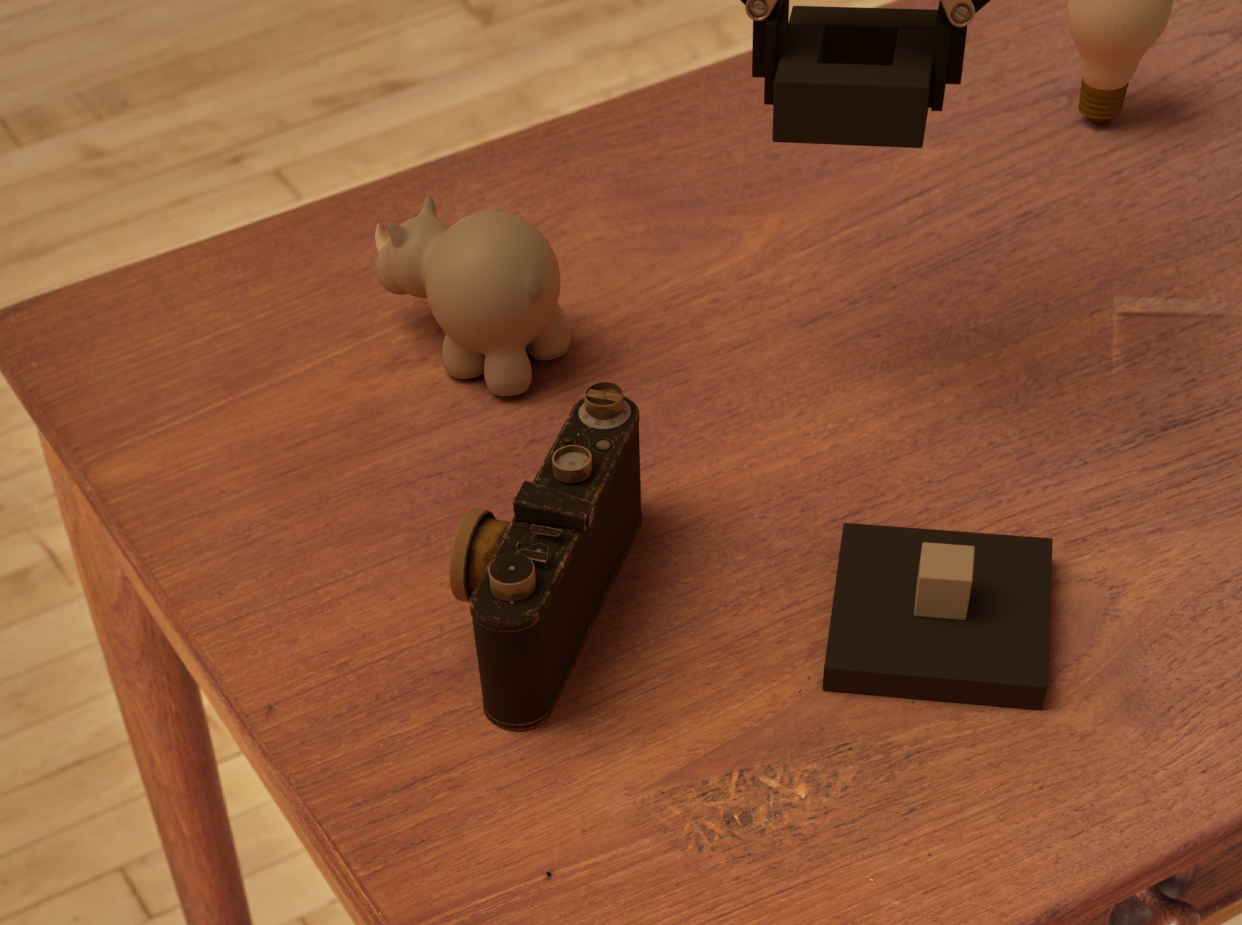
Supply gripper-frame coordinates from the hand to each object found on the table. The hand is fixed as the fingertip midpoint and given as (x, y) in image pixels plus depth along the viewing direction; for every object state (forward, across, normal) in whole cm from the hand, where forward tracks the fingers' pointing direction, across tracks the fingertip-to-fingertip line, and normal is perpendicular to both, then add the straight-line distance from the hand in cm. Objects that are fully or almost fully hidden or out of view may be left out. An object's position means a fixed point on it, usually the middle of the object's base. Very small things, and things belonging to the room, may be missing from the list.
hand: (855, 90), depth 86 cm
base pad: (+15, -7, +19) cm, 26 cm away
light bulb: (+16, -13, -26) cm, 33 cm away
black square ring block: (+1, 0, 0) cm, 1 cm away
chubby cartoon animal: (+15, +20, +1) cm, 26 cm away
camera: (+15, +12, +21) cm, 29 cm away
